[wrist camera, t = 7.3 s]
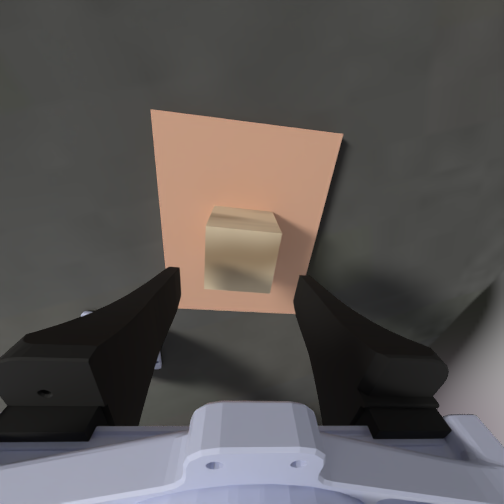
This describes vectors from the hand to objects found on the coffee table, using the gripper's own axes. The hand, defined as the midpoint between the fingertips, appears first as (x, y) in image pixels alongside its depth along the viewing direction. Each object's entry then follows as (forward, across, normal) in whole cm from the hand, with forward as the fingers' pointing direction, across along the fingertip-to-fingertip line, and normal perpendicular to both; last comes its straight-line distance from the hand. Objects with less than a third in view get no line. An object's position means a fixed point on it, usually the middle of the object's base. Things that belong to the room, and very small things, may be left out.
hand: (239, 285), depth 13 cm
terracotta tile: (+9, 0, 0) cm, 9 cm away
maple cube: (+7, 0, 0) cm, 7 cm away
